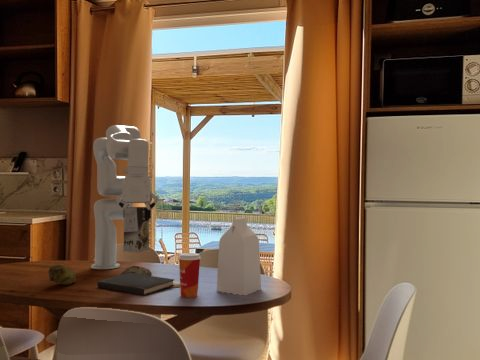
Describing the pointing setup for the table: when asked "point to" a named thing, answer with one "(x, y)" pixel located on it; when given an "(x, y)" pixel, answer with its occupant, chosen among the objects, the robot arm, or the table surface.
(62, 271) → the potato
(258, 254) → the milk
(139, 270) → the bread roll
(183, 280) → the paper cup
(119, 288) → the hardcover book
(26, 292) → the table surface
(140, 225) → the coffee box
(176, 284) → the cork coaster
